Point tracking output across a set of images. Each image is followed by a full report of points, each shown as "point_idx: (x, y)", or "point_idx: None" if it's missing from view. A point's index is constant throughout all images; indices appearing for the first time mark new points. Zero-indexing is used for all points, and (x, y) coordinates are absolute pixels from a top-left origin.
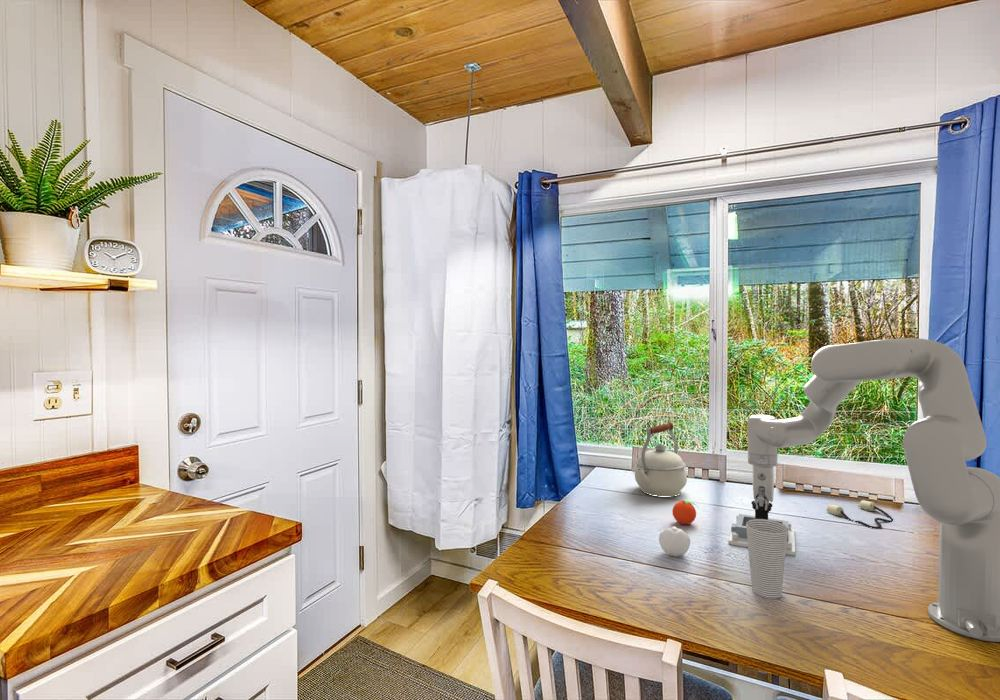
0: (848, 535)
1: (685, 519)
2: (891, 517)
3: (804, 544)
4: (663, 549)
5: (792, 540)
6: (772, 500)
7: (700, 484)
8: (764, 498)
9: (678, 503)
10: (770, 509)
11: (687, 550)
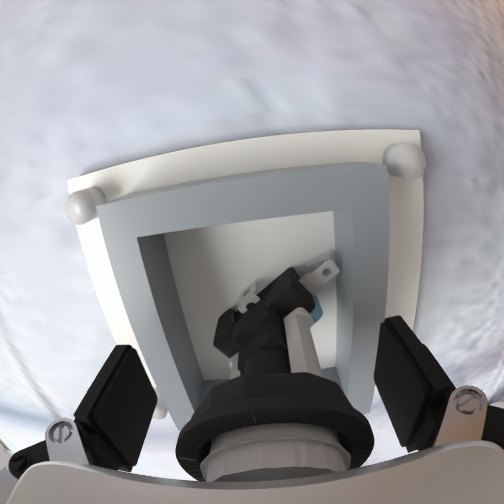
0: (32, 12)
1: None
2: None
3: (227, 94)
4: None
5: (263, 147)
6: (499, 448)
7: (4, 431)
8: (102, 446)
9: None
10: (309, 383)
11: (501, 405)
